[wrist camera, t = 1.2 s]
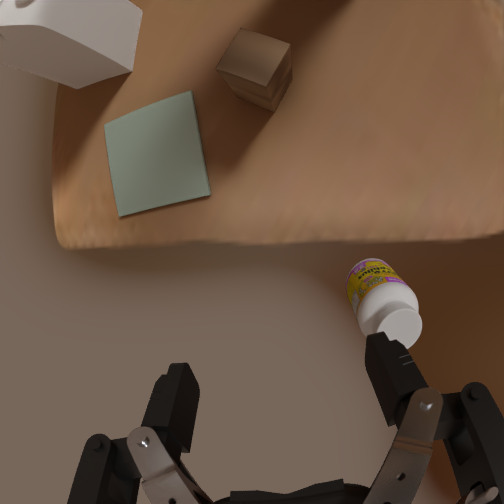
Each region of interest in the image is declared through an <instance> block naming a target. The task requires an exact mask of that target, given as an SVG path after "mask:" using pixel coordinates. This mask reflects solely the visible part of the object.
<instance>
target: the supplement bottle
mask: <svg viewBox="0 0 504 504" xmlns="http://www.w3.org/2000/svg"><path fill="white" fill-rule="evenodd" d="M346 292H347V296H348V298H349V301H350V303H351V306H352V308H353V311H354V313H355V316H356V319H357V322H358V324H359V327H360V329H361V331H362V333H363V334H364V335H365V336H366V337H367V335H370V334H374V333H378V332H382V331H384V332H385V333H386V335H387V337H388V339H389V340H390V341H392V340H395V339H396V340H398V341H399V342H400V343H402V344H403V345H405V347H406V349H408V348H409V347H410V346H412V345H413V344H414V343H415V342H416V341H417V339H418V337H419V335H420V333H421V330H422V320H421V317H420V315H419V314H418V301H417V298H416V296H415V294H414V292H413V291H412V290H411V289H410V288H409V287H408V286H407V285H406V284H405V282H404V281H402V279H401V278H400V277H399V276H398V275H397V274H396V273H395V272H394V271H393V270H392V269H391V267H390V266H388V265H387V264H386V263H385V262H384V261H382V260H379V259H374V258H372V259H365V260H363V261H361V262H359V263H357V264H356V265H355V266H354V267H353V268H352V269H351V270H350V272H349V274H348V276H347V279H346Z"/></svg>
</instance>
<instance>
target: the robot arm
mask: <svg viewBox="0 0 504 504" xmlns="http://www.w3.org/2000/svg"><path fill="white" fill-rule="evenodd" d="M365 367H366V371H367V373H368V376H369V378H370V380H371V383H372V386H373V388H374V391H375V393H376V396H377V398H378V401H379V403H380V406H381V409H382V411H383V414H384V417H385V419H386V422H387V425H388V427H389V426H392V425H395V424H396V426H397V429H398V431H397V434H396V436H395V438H394V440H393V443H392V445H391V448H390V450H389V452H388V454H387V456H386V458H385V460H384V462H383V465H382V466H381V469H380V470H379V472H378V474H377V476H376V478H375V480H374V482H373V483H372V485H371V487H370V488H368V487H365V486H362V485H358V484H349V483H346V484H345V483H344V482H343V479H339V480H334V481H330V482H324V483H318V484H314V485H312V486H309V487H306V488H303V489H301V490H298V491H295V492H292V493H289V494H280V493H272V492H265V491H258V490H256V491H231V492H230V497H226V498H223V499H220V500H218V501H215V502H213V501H212V500H211V499H210V498H209V496H208V495H207V494H206V493H205V492H204V491H203V490H202V489H201V488H200V487H199V485H198V484H197V482H196V481H195V480H194V478H193V477H192V476H191V474H190V473H189V471H188V470H187V469H186V467H185V465H184V464H183V462H182V461H181V460H180V456H181V452H183V453H190V448H191V442H192V436H193V430H194V425H195V419H196V413H197V408H198V402H199V397H200V389H199V385H198V382H197V380H196V378H195V376H194V374H193V372H192V370H191V368H190V366H189V364H188V363H172V364H171V365H170V366H169V369H168V372H167V375H161V377H160V378H159V379H158V380H157V381H156V383H155V385H154V388H153V391H152V392H153V393H152V394H151V397H150V401H149V403H148V406H147V409H146V412H145V415H144V418H143V421H142V424H141V427H139V428H136V429H134V430H133V431H132V432H131V433H130V434H129V436H128V437H126V438H120V439H114V440H110V439H109V438H108V437H107V436H106V435H103V434H95V435H93V436H91V437H90V438H89V439H88V440H87V442H86V444H85V447H84V450H83V453H82V456H81V459H80V462H79V465H78V468H77V471H76V475H75V478H74V481H73V484H72V488H71V492H70V495H69V499H68V502H67V504H136V502H137V495H138V490H139V484H140V479H141V478H142V477H143V480H144V481H143V482H142V487H143V489H144V491H145V493H146V495H147V497H148V498H149V500H150V502H151V504H411V503H412V501H413V499H414V496H415V494H416V492H417V490H418V487H419V485H420V483H421V480H422V478H423V476H424V473H425V470H426V468H427V465H428V462H429V460H430V456H431V454H432V447H431V446H432V442H433V440H439V439H443V442H444V444H445V447H446V450H447V453H448V456H449V459H450V462H451V465H452V468H453V471H454V474H455V477H456V481H457V484H458V488H459V491H460V495H461V498H460V499H459V500H458V502H457V503H456V504H504V418H503V416H502V414H501V412H500V410H499V408H498V407H497V405H496V403H495V401H494V399H493V398H492V396H491V394H490V392H489V390H488V389H487V387H486V386H485V385H483V384H481V383H479V382H472V383H469V384H467V385H466V386H465V387H464V388H463V390H462V391H461V392H457V393H449V394H440V393H439V392H438V391H437V390H436V389H433V388H429V387H428V385H427V383H426V381H425V380H424V378H423V376H422V374H421V373H420V371H419V369H418V368H417V366H416V364H415V362H413V359H412V357H411V355H409V352H408V351H407V349H406V347H405V345H403V344H402V343H400V342H399V341H398V340H396V339H395V340H392V341H390V340H389V339H388V337H387V335H386V333H385V332H384V331H382V332H378V333H374V334H370V335H367V339H366V351H365Z"/></svg>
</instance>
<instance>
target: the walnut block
mask: <svg viewBox="0 0 504 504" xmlns="http://www.w3.org/2000/svg"><path fill="white" fill-rule="evenodd" d="M215 69H216V70H217V71H218V72H219V74H220V75H221V76H222V78H223V79H224V80H225V81H226V83H227V84H228V85H229V87H230V88H231V89H232V91H233V92H234V93H235V95H236V96H237V97H238V98H241V99H243V100H246V101H248V102H251V103H253V104H255V105H258V106H260V107H263V108H265V109H267V110H269V111H272V112H274V113H275V111H276V109H277V107H278V105H279V103H280V101H281V100H282V98H283V96H284V94H285V92H286V90H287V89H288V87H289V85H290V83H291V81H292V60H291V44H289V43H286V42H284V41H281V40H278V39H275V38H272V37H269V36H266V35H263V34H260V33H257V32H253V31H250V30H246V29H243V28H240V29H239V31H238V32H237V34H236V36H235V37H234V39H233V40H232V42H231V43H230V45H229V47H228V48H227V50H226V51H225V53H224V55H223V56H222V58H221V60H220V61H219V63H218V65H217V67H216V68H215Z"/></svg>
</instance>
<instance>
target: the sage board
mask: <svg viewBox="0 0 504 504" xmlns="http://www.w3.org/2000/svg"><path fill="white" fill-rule="evenodd" d="M104 128H105V137H106V145H107V153H108V160H109V166H110V173H111V179H112V184H113V190H114V195H115V200H116V205H117V210H118V215H119V217H121V216H124V215H128V214H132V213H136V212H139V211H143V210H147V209H151V208H155V207H159V206H163V205H168V204H172V203H176V202H180V201H185V200H189V199H194V198H198V197H203V196H208V195H211V191H210V186H209V181H208V176H207V170H206V165H205V160H204V154H203V149H202V143H201V138H200V132H199V127H198V121H197V115H196V109H195V103H194V97H193V91H191V90H190V91H187V92H184V93H181V94H178V95H175V96H172V97H169V98H166V99H164V100H161V101H158V102H156V103H153V104H150V105H148V106H145V107H143V108H140V109H138V110H136V111H133V112H131V113H128V114H126V115H124V116H122V117H119V118H117V119H115V120H113V121H111V122H109V123H107V124H105V125H104Z"/></svg>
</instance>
